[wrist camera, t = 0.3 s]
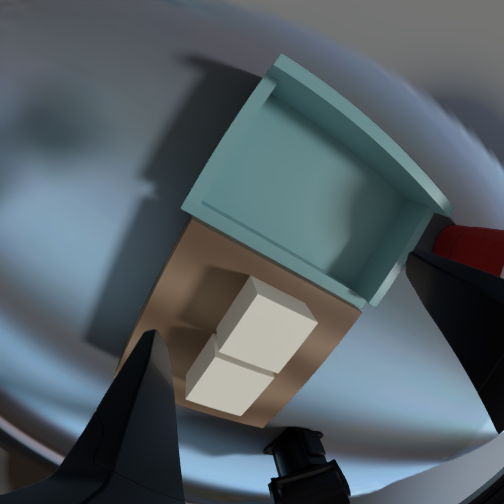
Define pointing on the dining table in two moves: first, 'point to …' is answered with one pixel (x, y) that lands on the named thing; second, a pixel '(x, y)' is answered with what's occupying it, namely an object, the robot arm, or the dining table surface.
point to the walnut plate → (217, 304)
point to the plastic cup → (473, 247)
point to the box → (316, 187)
